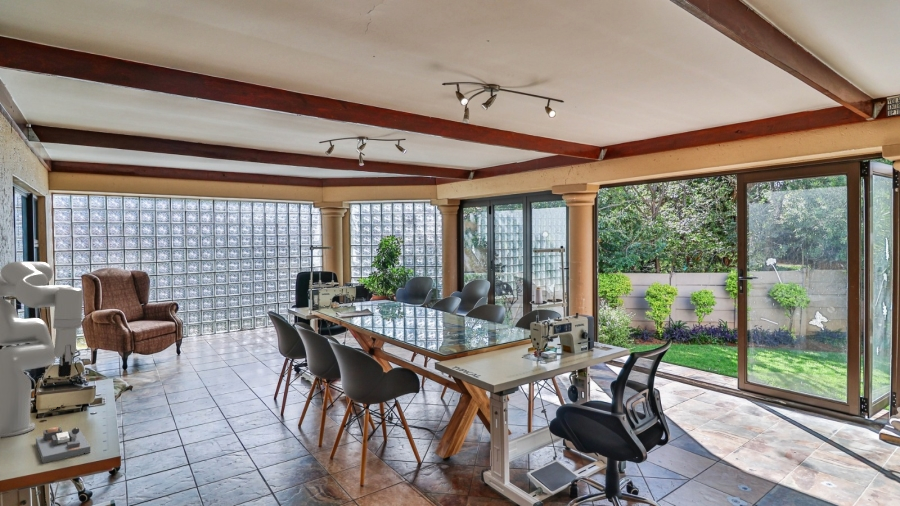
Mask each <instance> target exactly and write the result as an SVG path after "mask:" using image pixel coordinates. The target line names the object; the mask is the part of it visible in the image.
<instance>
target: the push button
mask: <svg viewBox="0 0 900 506" xmlns="http://www.w3.org/2000/svg"><path fill="white" fill-rule="evenodd" d="M58 428H59V427H58V426H52V427H50V428H49V427H48V428H47V429H46V430H47V433H50V432H55V431H58Z"/></svg>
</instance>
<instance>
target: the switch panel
mask: <svg viewBox="0 0 900 506" xmlns="http://www.w3.org/2000/svg"><path fill="white" fill-rule="evenodd" d="M62 432H63V429H62V427H58V431H55V432H50V433H47V429H44V430H43V432H42V433H43V436H38V437H37V436H36V437H35V445H36V449H37V450H38V453H39V456H40V459H41V462H42V463H43V464H45V463H50V462H54V461H58V460H62V459H67V458H71V456H72V457H75V456H80V454H81V455H85V454H89V452H90V453H91V445H90V443H89V441H88V440H87V438H86V437H85V435H84V433H83V432H82V431H81V429H80V428H79V432H78V433H77V438H76V441H75V442H72V441H71V440H72V435H73V433H72V430H68V434H69V438H70V439H69V441H68V442H63V443H58V442H57V438H56V434H57V433H62ZM84 453H85V454H84Z"/></svg>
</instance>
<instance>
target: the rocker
mask: <svg viewBox="0 0 900 506" xmlns="http://www.w3.org/2000/svg"><path fill="white" fill-rule="evenodd" d="M68 431H69V430H68ZM68 431H62V433H57V434H56V438H57V442H58V443H63V442H68V441H69V439H70V438H69V434H68Z"/></svg>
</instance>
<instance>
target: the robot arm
mask: <svg viewBox="0 0 900 506" xmlns="http://www.w3.org/2000/svg"><path fill="white" fill-rule="evenodd" d="M53 275H54V272H53V269H52V266H51V265H50V264H48V263H47V262H44V261H13V262H9V263H7V264H5V265H3V266H2V268H1V270H0V346H5V347H4V348H1V349H0V438H6V437H15V436H18V435H22V434H25V433H28V432H31V431H32V430H34V429H35V428H36V423H34V422H31V400H32V399H31V398H32V381H31V378H30V377H29V376H28V375H27V374H25V373H24V372H25V371H28V370H33V369H34V370H35V369H40V368H44V367H48V366H50V365H53V363H54V362H55V360H56V358H57V359H59V364H58V372H57V376H58V377H59V378H64V377H70V376H71V373H72V363H71V362H72V358H74V357H75V356H76V355H75V354H76V348H77V335H78V329H80V328H82V320H83V319H82V318H83V301H84V290H83V289H82V288H80V287H74V286H72V285H69V284H57V285H56V284H53V285H52V284H51V285H50V284H48V283H50V281H51V280H52V278H53ZM3 297H15V298H16V300H17V301H18V302H19V303H21V304H22V305H23V306H26V307H29V308H31V309H32V308H33V309H39V308H47V307H48V308H51V307H54V313H53V322H52V323H53V325H52V329H55V339H54V343H53V340H52V337H51V333H50V331H49V328H48V325H47V323H46V322H45V320H43V319H41V318H38V317H30V318H29V317H28V318H20V316H19V315H18V313H17V309H16V307H15V306H14V305H13V304H11V302H9V301H8V300H6V299H4V298H3Z"/></svg>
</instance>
